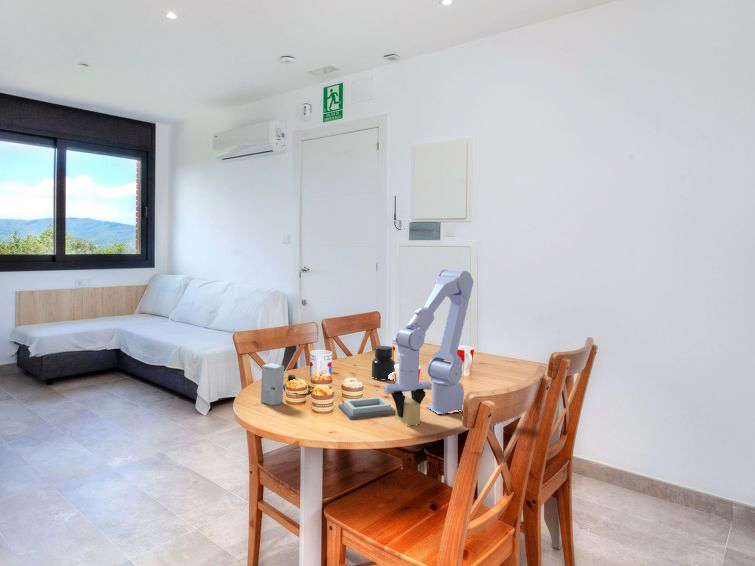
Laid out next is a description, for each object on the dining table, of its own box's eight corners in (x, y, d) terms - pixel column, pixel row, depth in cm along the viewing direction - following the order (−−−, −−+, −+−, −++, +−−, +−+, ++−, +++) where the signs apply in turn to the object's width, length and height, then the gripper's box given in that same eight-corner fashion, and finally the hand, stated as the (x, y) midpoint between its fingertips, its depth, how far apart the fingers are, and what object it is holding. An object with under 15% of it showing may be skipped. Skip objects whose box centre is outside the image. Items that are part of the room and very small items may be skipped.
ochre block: (407, 415, 144) (407, 396, 143) (419, 425, 136) (420, 404, 136) (395, 417, 142) (395, 397, 142) (407, 426, 135) (407, 405, 134)
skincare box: (260, 402, 152) (260, 365, 152) (269, 399, 156) (270, 362, 156) (274, 406, 149) (275, 368, 149) (284, 402, 153) (284, 365, 153)
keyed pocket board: (382, 403, 155) (382, 395, 155) (396, 413, 145) (396, 405, 145) (338, 407, 149) (338, 399, 149) (349, 419, 139) (350, 411, 139)
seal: (319, 396, 165) (298, 385, 177) (321, 382, 165) (299, 372, 177) (296, 397, 160) (275, 386, 171) (297, 383, 160) (277, 373, 171)
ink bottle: (399, 377, 187) (400, 347, 186) (386, 382, 180) (387, 351, 179) (379, 373, 193) (380, 344, 192) (366, 377, 186) (366, 347, 185)
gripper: (424, 364, 145) (422, 408, 146) (380, 368, 139) (379, 413, 140) (435, 370, 138) (434, 416, 139) (390, 374, 133) (389, 421, 134)
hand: (407, 415), depth 139 cm, fingers closed on ochre block, 4 cm apart
